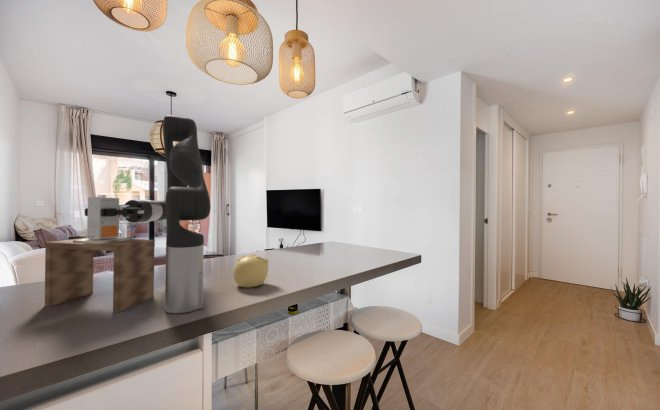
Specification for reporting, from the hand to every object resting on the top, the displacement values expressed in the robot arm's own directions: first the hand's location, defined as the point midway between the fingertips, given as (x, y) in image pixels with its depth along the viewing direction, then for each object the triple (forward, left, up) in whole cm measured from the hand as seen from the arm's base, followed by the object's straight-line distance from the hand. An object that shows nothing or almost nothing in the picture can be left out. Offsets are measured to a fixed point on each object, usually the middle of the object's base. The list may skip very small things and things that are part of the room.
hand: (94, 212), depth 77 cm
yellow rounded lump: (-43, -3, -26) cm, 51 cm away
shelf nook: (-1, -2, -26) cm, 26 cm away
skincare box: (-2, -2, -8) cm, 8 cm away
